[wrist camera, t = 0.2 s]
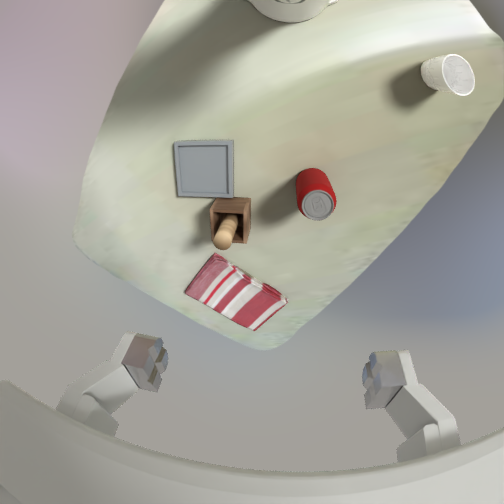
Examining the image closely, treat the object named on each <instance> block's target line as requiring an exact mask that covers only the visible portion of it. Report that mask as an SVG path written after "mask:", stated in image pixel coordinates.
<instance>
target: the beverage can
mask: <svg viewBox="0 0 504 504" xmlns="http://www.w3.org/2000/svg"><path fill="white" fill-rule="evenodd" d="M296 194H297V204H298V208H299V210H300V212H301V213H302V214H303V215H304V216H306V217H307V218H309V219H312V220H323V219H325V218H327V217H328V216H330V214H331V213H332V212H333V211H334V209H335V207H336V196H335V193H334V191H333V189H332V186H331V184H330V182H329V180H328V178H327V176H326V174H325V173H324V172H323V171H321V170H319V169H316V168H309V169H306V170H304V171H302V172H301V173H300V174H299V175H298V177H297V180H296Z"/></svg>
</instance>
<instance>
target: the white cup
mask: <svg viewBox="0 0 504 504" xmlns="http://www.w3.org/2000/svg"><path fill="white" fill-rule="evenodd" d="M421 76H422V78H423V81H424V82H425V83H426V84H427V85H428V86H429V87H431V88H432V89H435V90H439V91H443V92H447V93H452V94H456V95H460V96H466V95H468V94H470V93H471V92H472V90H473V88H474V84H475V78H474V73H473V71H472V68H471V66H470V65H469V63H468V62H467V61H466V60H465V59H464V58H463V57H461V56H459V55H456V54H449V55H444V56H439V57H435V58H432V59H428V60H426V61H424V62H423V64H422V66H421Z"/></svg>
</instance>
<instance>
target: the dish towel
mask: <svg viewBox="0 0 504 504" xmlns="http://www.w3.org/2000/svg"><path fill="white" fill-rule="evenodd" d="M185 294H187V295H188V296H190V297H192V298H194V299H196V300H198V301H200V302H202V303H204V304H205V305H207V306H209V307H211V308H212V309H214V310H215V311H217V312H218V313H221V314H222V315H224V316H226V317H227V318H229V319H231V320H232V321H234V322H236V323H238V324H240V325H242V326H244V327H246V328H249V329H251V330H253V331H255V330H257V329H258V328H259V327H260V326H261V325H262V324H264V323H265V322H266V321H267V320H268V319H269V318H271V317H272V316H273V315H274V314H275V313H276V312H277V311H278V310H280V309H281V308H282V307H284V306H285V305H286V304H287V303H288V299H287V298H285V297H284V296H283V295H282V294H281V293H280V292H278V291H277V290H276V289H274V288H272V287H271V286H269V285H267V284H265V283H263V282H261V281H259V280H258V279H256V278H254V277H253V276H251V275H250V274H248V273H247V272H245V271H243V270H242V269H239V268H238V267H236V266H235V265H233V264H232V263H230V262H229V261H227V260H225V259H224V258H223V257H222V256H220V255H218V254H217V253H215V254H214V255H213V256H212V257H211V258H210V260H209V261H208V262H207V263H206V264H205V266H204V267H203V268H202V269H201V271H200V272H199V273H198V274H197V276H196V277H195V278H194V280H193V281H192V282H191V284H190V285H189V286H188V288H187V289H186V291H185Z"/></svg>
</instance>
